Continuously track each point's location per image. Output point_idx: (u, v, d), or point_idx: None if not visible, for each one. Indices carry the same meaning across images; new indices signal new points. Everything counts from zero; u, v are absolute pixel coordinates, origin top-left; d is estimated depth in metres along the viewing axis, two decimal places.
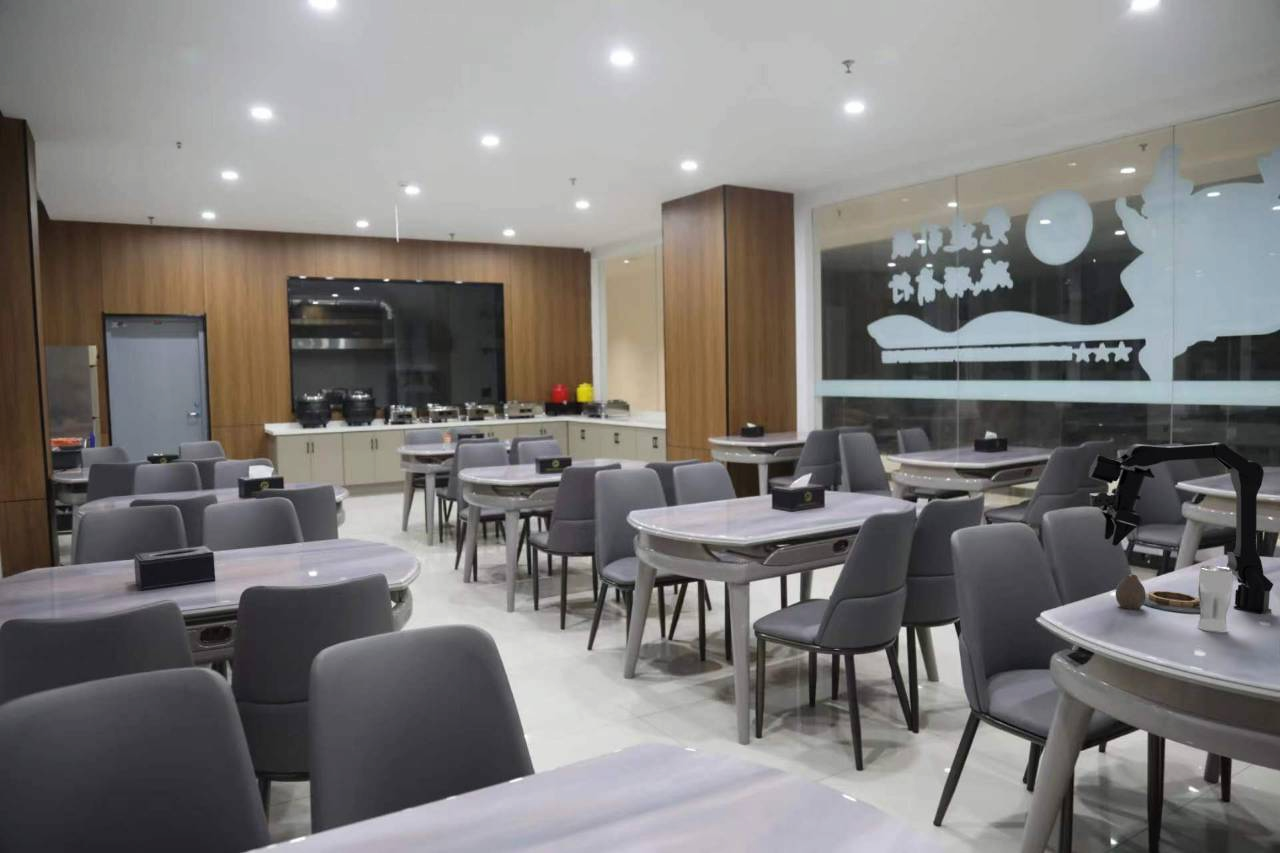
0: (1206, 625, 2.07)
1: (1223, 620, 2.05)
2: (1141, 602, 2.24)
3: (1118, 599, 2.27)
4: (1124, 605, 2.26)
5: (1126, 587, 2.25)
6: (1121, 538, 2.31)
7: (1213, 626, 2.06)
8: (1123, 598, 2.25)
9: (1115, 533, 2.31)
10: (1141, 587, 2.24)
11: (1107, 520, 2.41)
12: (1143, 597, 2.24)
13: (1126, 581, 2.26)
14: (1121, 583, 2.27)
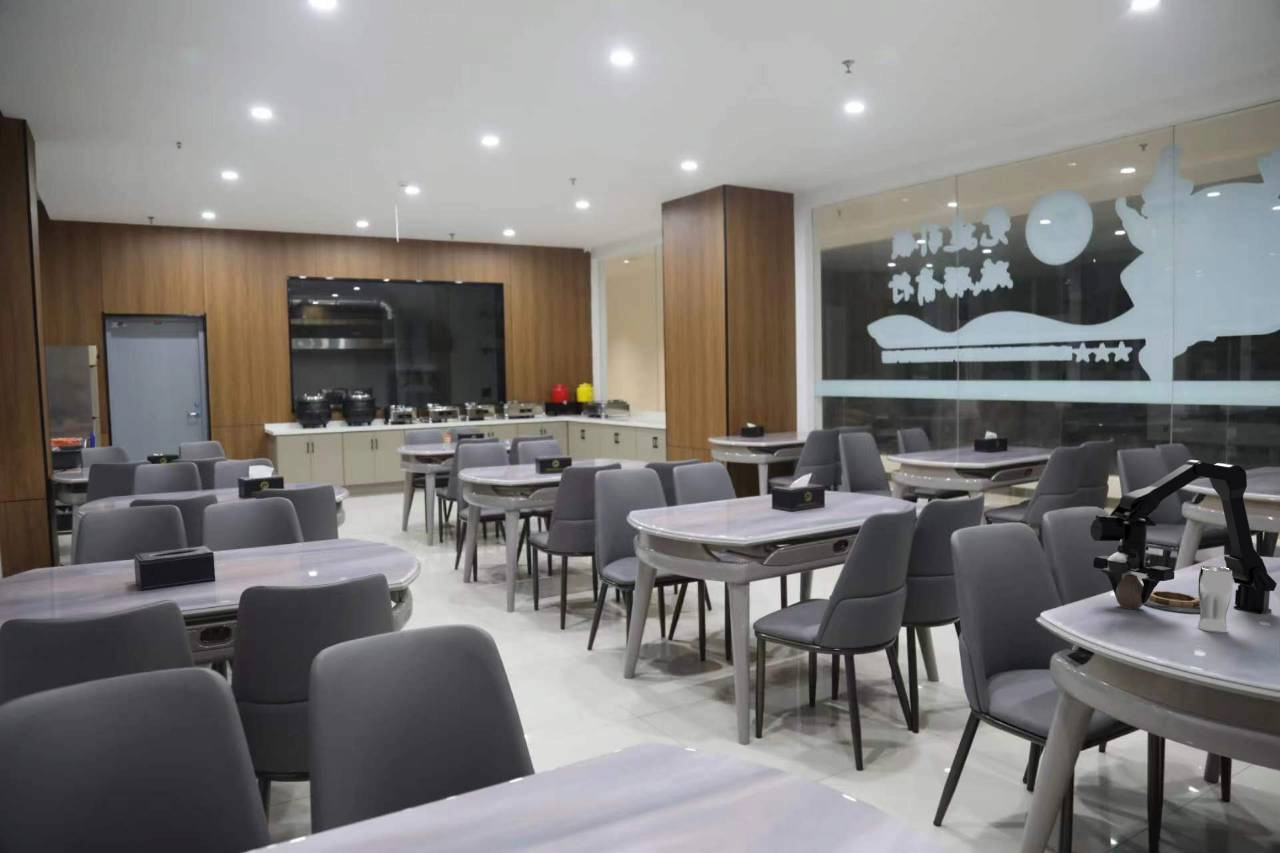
0: (1206, 625, 2.07)
1: (1223, 620, 2.05)
2: (1141, 602, 2.24)
3: (1118, 599, 2.27)
4: (1124, 605, 2.26)
5: (1126, 587, 2.25)
6: (1150, 594, 2.23)
7: (1213, 626, 2.06)
8: (1122, 598, 2.25)
9: (1147, 592, 2.22)
10: (1141, 587, 2.24)
11: (1115, 578, 2.29)
12: None
13: (1126, 581, 2.26)
14: (1121, 583, 2.27)
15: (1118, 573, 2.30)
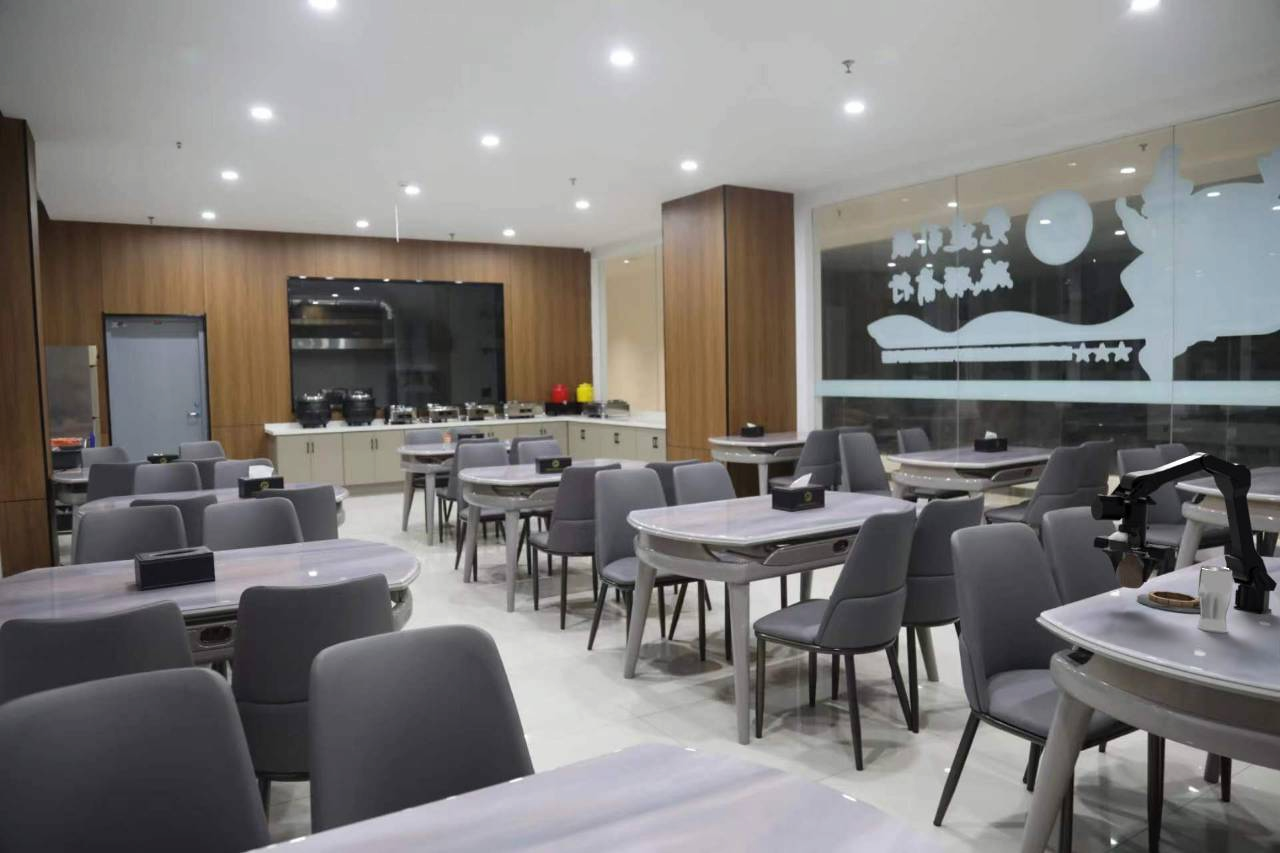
0: (1206, 625, 2.07)
1: (1223, 620, 2.05)
2: (1142, 581, 2.24)
3: (1119, 578, 2.26)
4: (1125, 584, 2.25)
5: (1126, 566, 2.25)
6: (1150, 573, 2.23)
7: (1213, 626, 2.06)
8: (1123, 577, 2.25)
9: (1147, 571, 2.22)
10: (1142, 566, 2.24)
11: (1115, 558, 2.29)
12: None
13: (1127, 560, 2.25)
14: (1122, 562, 2.26)
15: (1119, 553, 2.30)
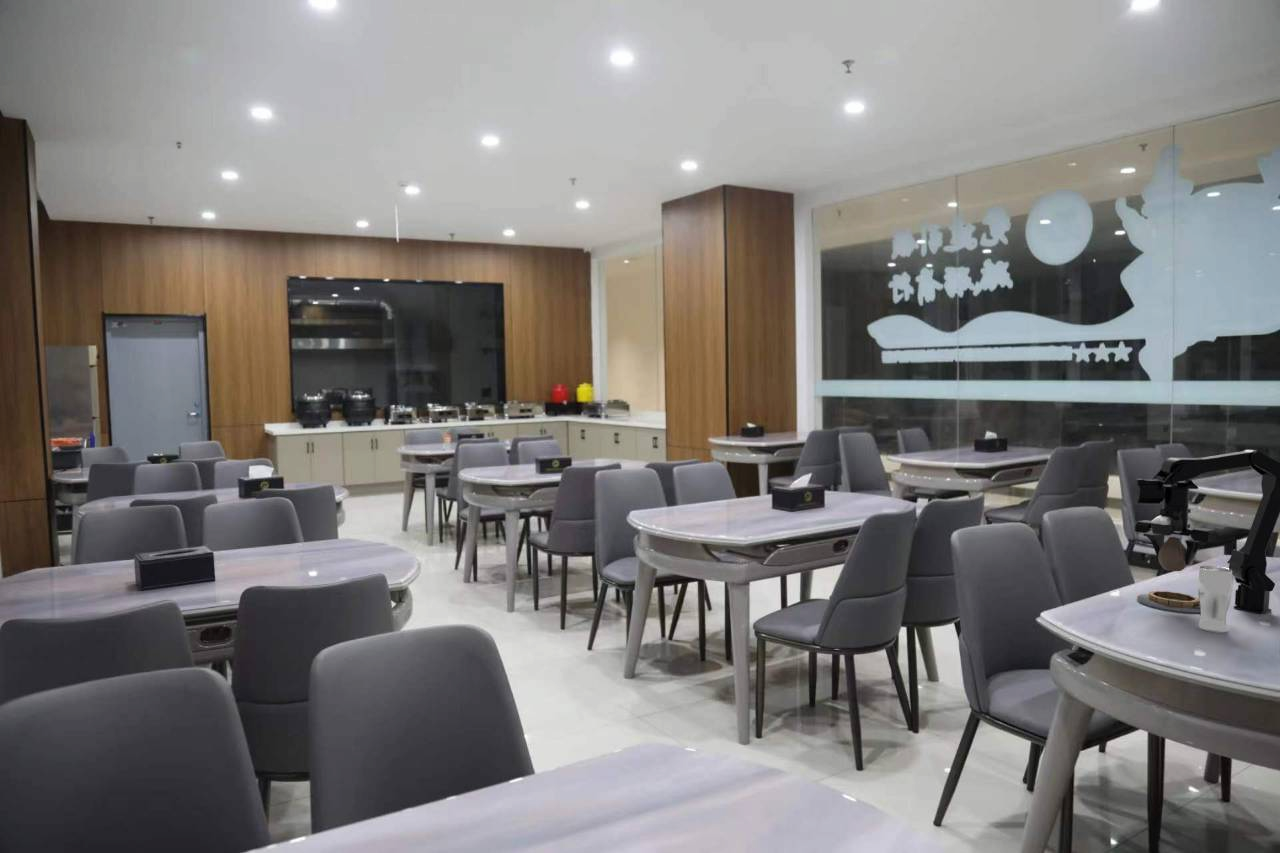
0: (1206, 625, 2.07)
1: (1223, 620, 2.05)
2: (1185, 564, 2.27)
3: (1161, 561, 2.30)
4: (1167, 567, 2.29)
5: (1169, 549, 2.28)
6: (1193, 556, 2.26)
7: (1213, 626, 2.06)
8: (1166, 560, 2.28)
9: (1190, 553, 2.25)
10: (1184, 549, 2.27)
11: (1157, 542, 2.32)
12: None
13: (1169, 543, 2.29)
14: (1164, 546, 2.30)
15: (1160, 537, 2.33)
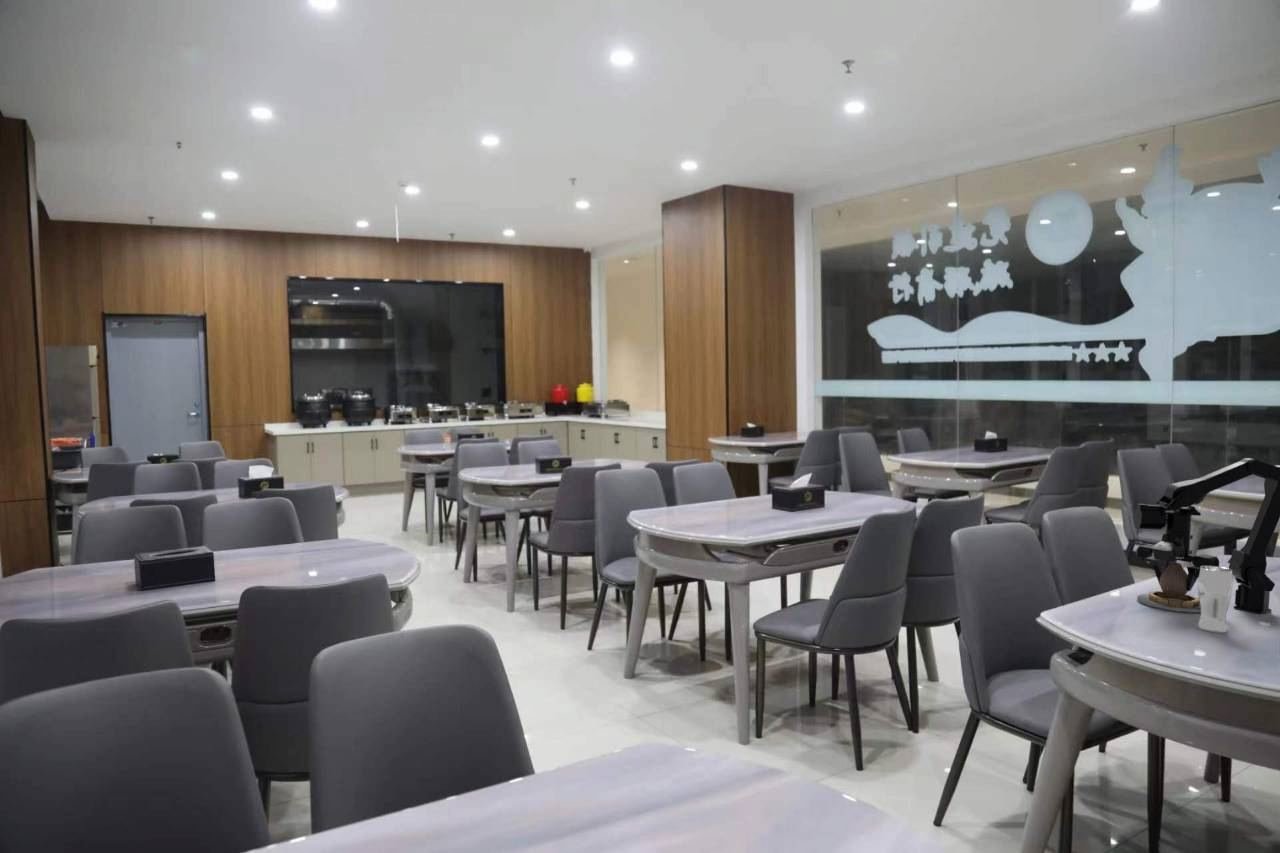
0: (1206, 625, 2.07)
1: (1223, 620, 2.05)
2: (1186, 590, 2.28)
3: (1162, 587, 2.30)
4: (1169, 593, 2.29)
5: (1170, 575, 2.29)
6: (1194, 582, 2.27)
7: (1213, 626, 2.06)
8: (1167, 586, 2.29)
9: (1192, 580, 2.26)
10: (1185, 575, 2.28)
11: (1159, 567, 2.33)
12: None
13: (1171, 569, 2.30)
14: (1165, 571, 2.30)
15: (1162, 562, 2.34)
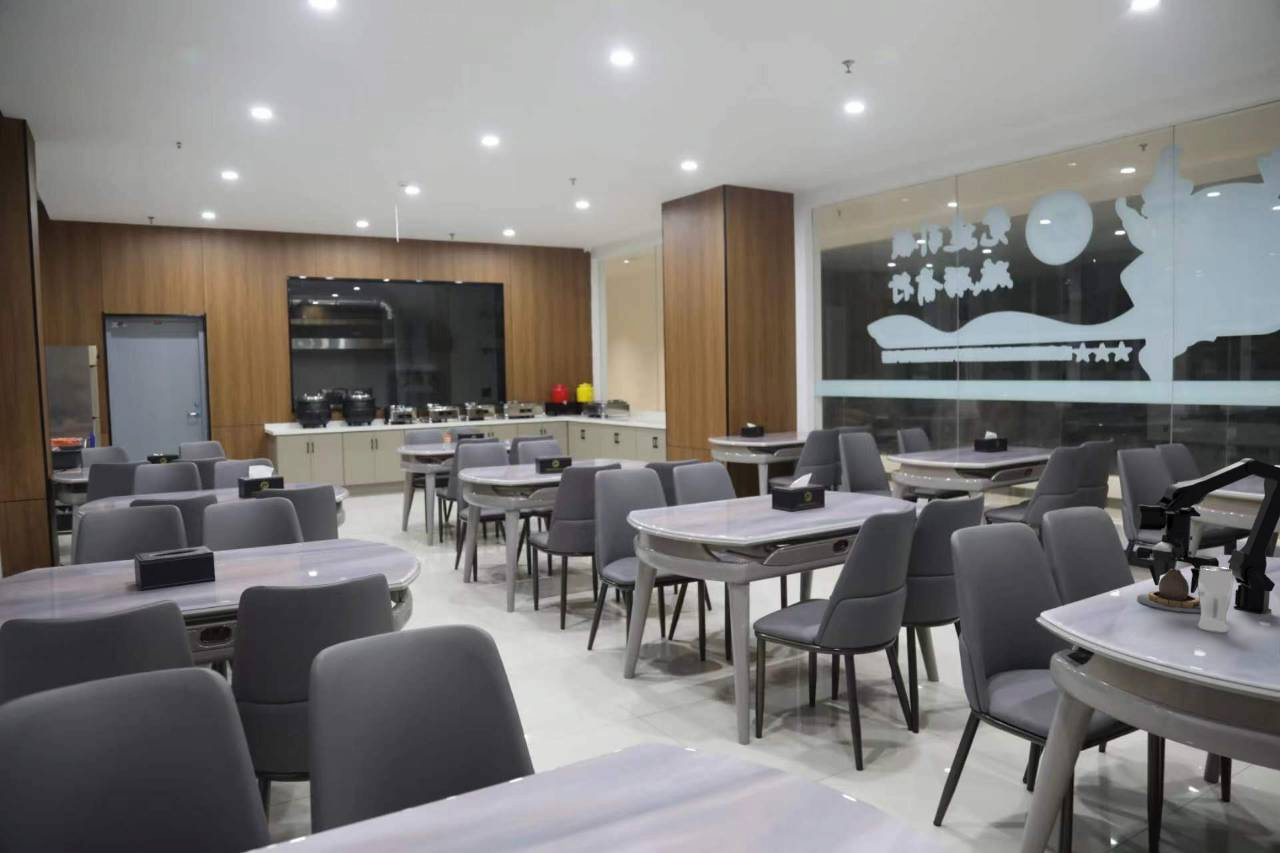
0: (1206, 625, 2.07)
1: (1223, 620, 2.05)
2: (1185, 596, 2.28)
3: (1161, 593, 2.31)
4: None
5: (1169, 581, 2.29)
6: None
7: (1213, 626, 2.06)
8: (1166, 592, 2.29)
9: (1196, 581, 2.25)
10: (1184, 581, 2.28)
11: (1154, 567, 2.34)
12: (1186, 591, 2.28)
13: (1170, 575, 2.30)
14: (1164, 577, 2.31)
15: (1157, 562, 2.35)
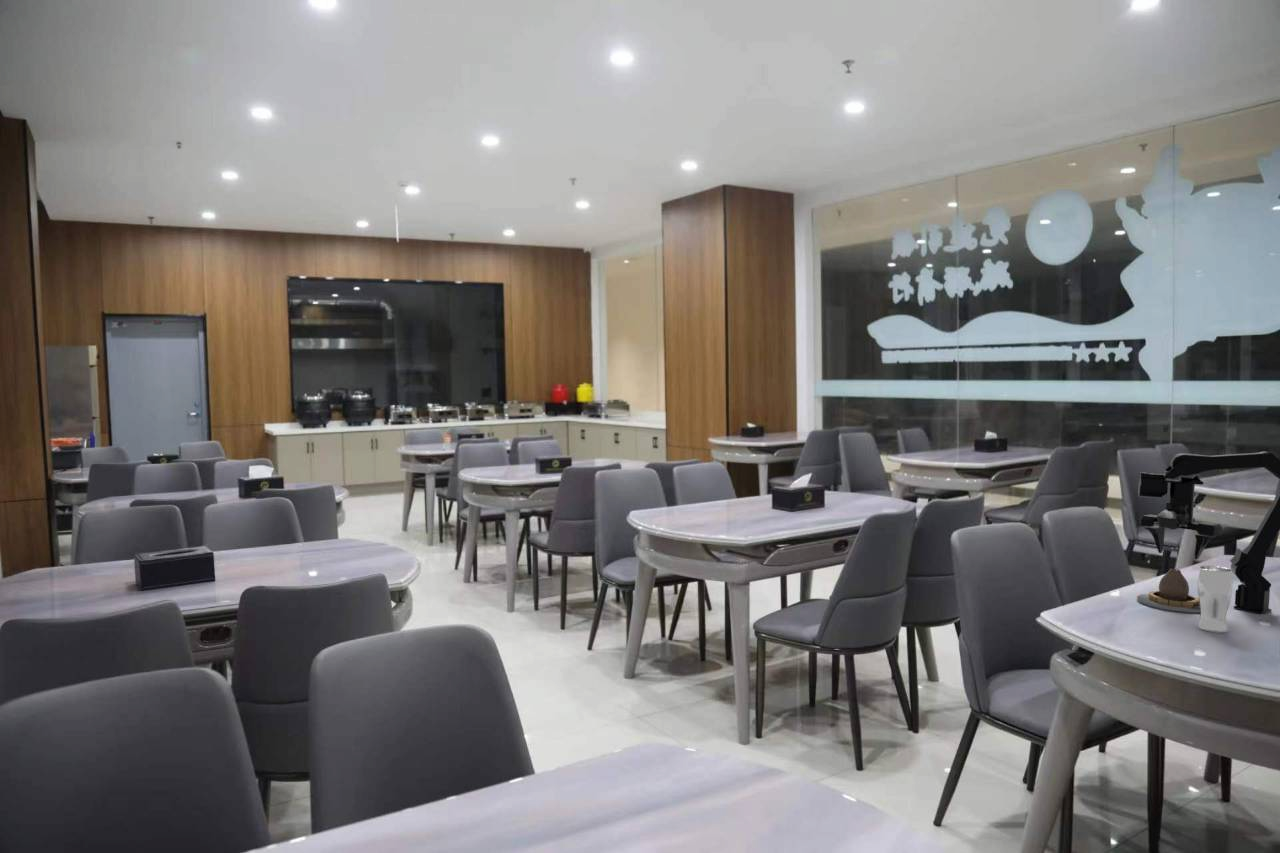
0: (1206, 625, 2.07)
1: (1223, 620, 2.05)
2: (1185, 596, 2.28)
3: (1161, 593, 2.31)
4: None
5: (1169, 581, 2.29)
6: (1202, 550, 2.30)
7: (1213, 626, 2.06)
8: (1166, 592, 2.29)
9: (1200, 548, 2.29)
10: (1184, 581, 2.28)
11: (1158, 535, 2.37)
12: (1186, 591, 2.28)
13: (1170, 575, 2.30)
14: (1164, 577, 2.31)
15: (1161, 530, 2.38)
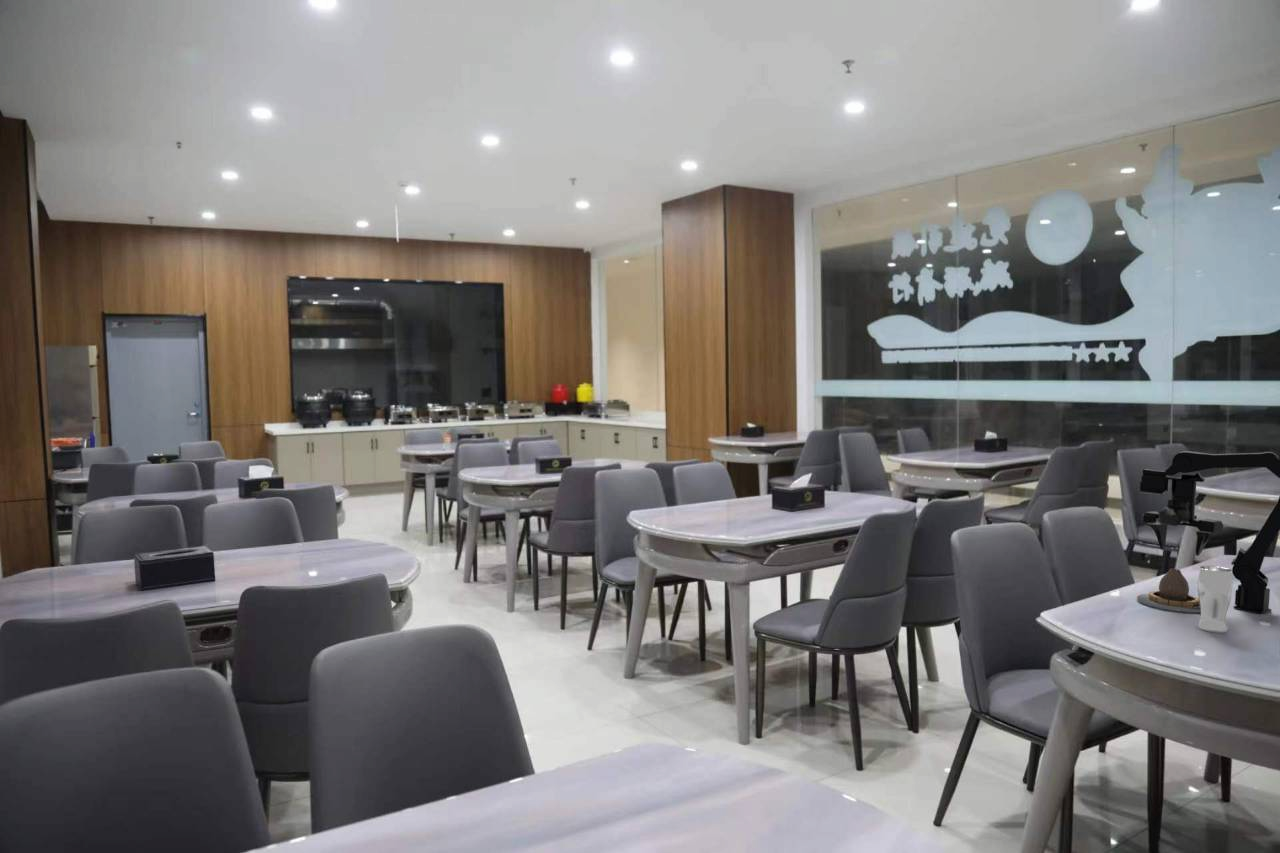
0: (1206, 625, 2.07)
1: (1223, 620, 2.05)
2: (1185, 596, 2.28)
3: (1161, 593, 2.31)
4: None
5: (1169, 581, 2.29)
6: (1203, 547, 2.33)
7: (1213, 626, 2.06)
8: (1166, 592, 2.29)
9: (1201, 544, 2.31)
10: (1184, 581, 2.28)
11: (1160, 531, 2.40)
12: (1186, 591, 2.28)
13: (1170, 575, 2.30)
14: (1164, 577, 2.31)
15: (1163, 527, 2.41)
